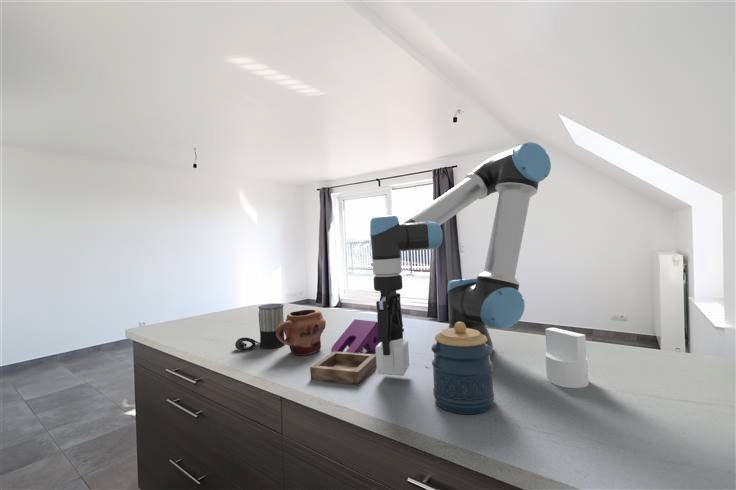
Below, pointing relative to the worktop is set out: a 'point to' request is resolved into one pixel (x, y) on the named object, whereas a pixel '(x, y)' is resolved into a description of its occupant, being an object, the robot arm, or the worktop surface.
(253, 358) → the worktop surface
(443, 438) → the worktop surface
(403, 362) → the medicine bottle
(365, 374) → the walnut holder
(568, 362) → the base with upright slab
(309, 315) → the terracotta mug
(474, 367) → the canister
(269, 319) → the milk frother
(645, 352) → the worktop surface
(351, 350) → the mounting bracket
